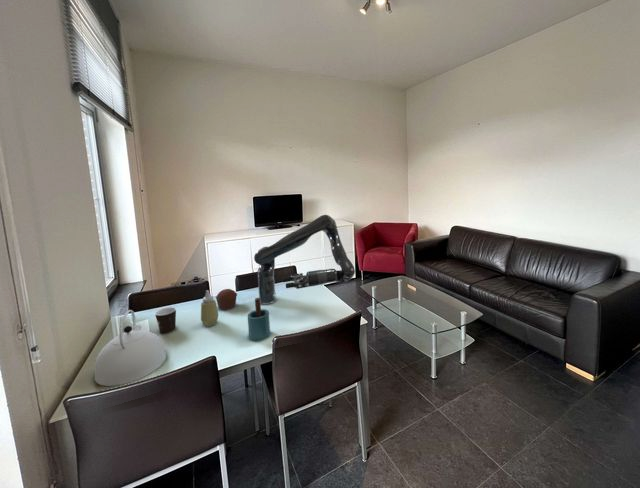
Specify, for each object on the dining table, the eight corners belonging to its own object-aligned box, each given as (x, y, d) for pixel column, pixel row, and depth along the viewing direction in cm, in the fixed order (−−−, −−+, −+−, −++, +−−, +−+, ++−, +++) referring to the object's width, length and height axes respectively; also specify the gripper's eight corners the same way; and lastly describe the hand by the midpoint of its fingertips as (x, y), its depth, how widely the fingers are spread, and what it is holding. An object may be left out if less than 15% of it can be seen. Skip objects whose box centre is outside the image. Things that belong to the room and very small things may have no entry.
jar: (248, 333, 145) (247, 311, 144) (268, 328, 149) (267, 307, 148) (249, 342, 137) (248, 320, 135) (271, 337, 141) (269, 316, 139)
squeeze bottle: (211, 328, 150) (208, 294, 147) (197, 327, 151) (194, 293, 149) (222, 320, 157) (219, 288, 155) (209, 319, 159) (206, 287, 157)
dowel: (254, 333, 144) (252, 297, 141) (264, 330, 146) (262, 295, 143) (255, 337, 140) (252, 301, 137) (265, 335, 142) (263, 299, 139)
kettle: (109, 354, 129) (102, 305, 126) (171, 341, 138) (166, 295, 135) (84, 393, 106) (75, 334, 103) (160, 374, 116) (154, 320, 113)
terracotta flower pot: (239, 307, 172) (238, 291, 171) (218, 313, 166) (217, 296, 164) (235, 300, 182) (234, 285, 180) (215, 305, 176) (213, 289, 174)
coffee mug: (159, 327, 151) (157, 309, 149) (179, 324, 154) (177, 305, 153) (153, 339, 140) (151, 319, 139) (175, 335, 144) (173, 315, 142)
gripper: (313, 266, 158) (281, 271, 151) (320, 275, 145) (286, 280, 138) (313, 280, 159) (282, 285, 152) (321, 289, 146) (287, 295, 139)
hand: (284, 282), depth 145 cm, fingers open, 8 cm apart
